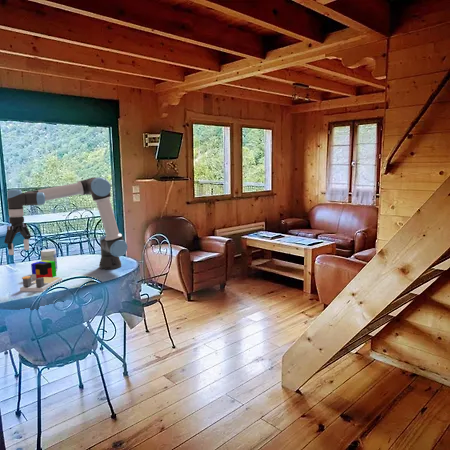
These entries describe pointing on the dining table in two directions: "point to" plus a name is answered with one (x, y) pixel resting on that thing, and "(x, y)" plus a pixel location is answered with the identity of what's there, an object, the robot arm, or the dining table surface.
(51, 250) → the supplement tub
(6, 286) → the dining table surface
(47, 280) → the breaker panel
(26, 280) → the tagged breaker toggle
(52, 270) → the puzzle toy
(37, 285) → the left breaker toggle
